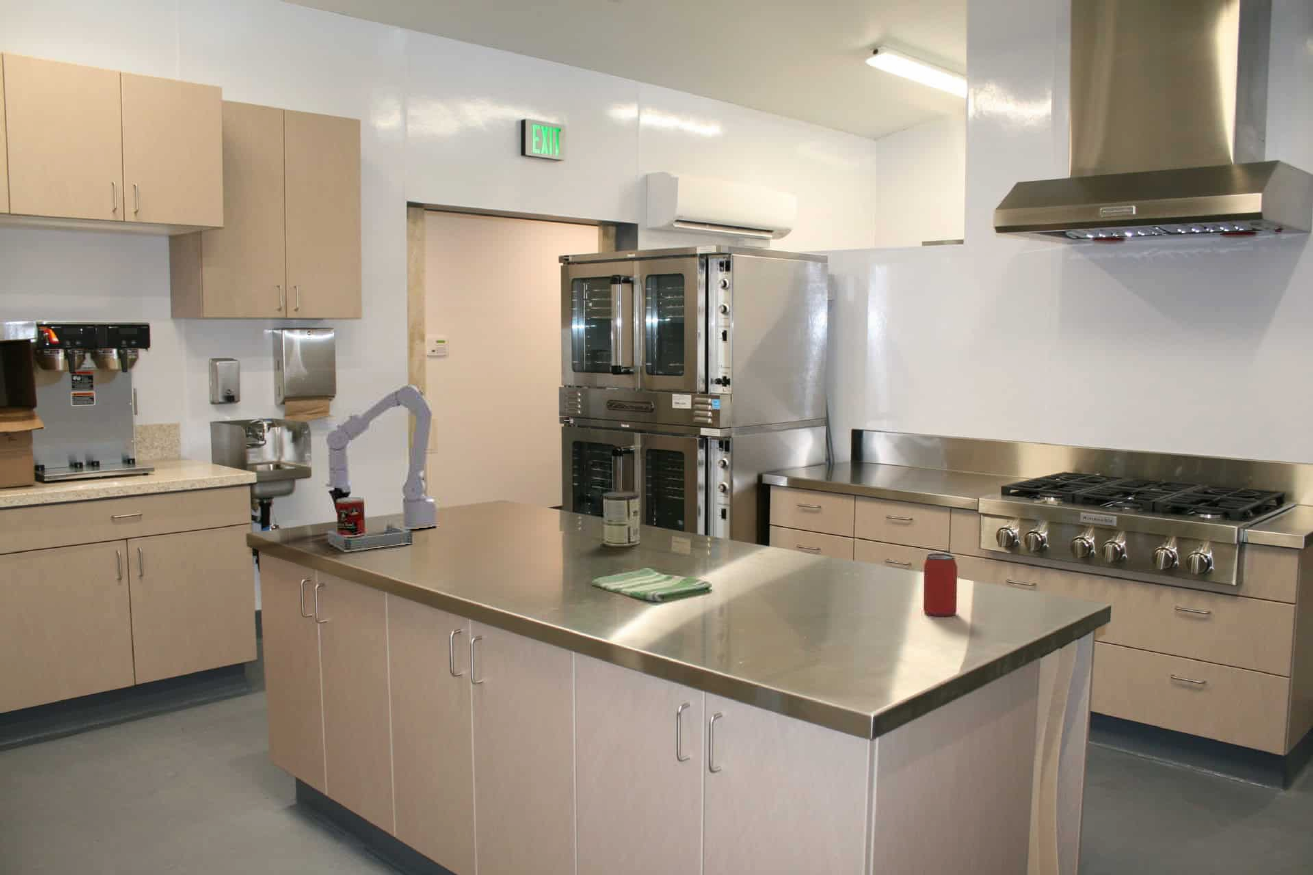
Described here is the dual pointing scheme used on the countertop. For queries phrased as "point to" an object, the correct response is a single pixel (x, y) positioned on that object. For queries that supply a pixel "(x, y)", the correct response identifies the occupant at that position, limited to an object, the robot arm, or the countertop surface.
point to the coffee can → (621, 518)
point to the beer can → (940, 585)
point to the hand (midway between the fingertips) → (340, 512)
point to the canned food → (350, 516)
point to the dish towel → (652, 585)
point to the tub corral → (372, 539)
